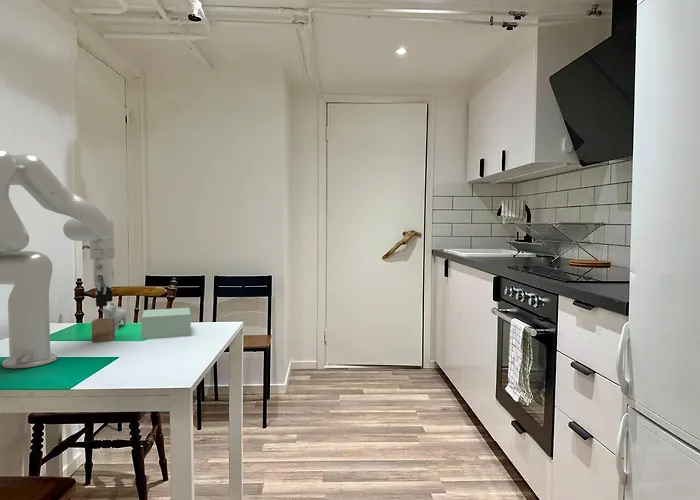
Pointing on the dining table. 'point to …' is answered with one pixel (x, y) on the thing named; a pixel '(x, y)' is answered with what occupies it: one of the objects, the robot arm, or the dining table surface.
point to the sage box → (166, 323)
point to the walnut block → (103, 330)
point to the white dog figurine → (114, 313)
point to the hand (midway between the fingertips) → (104, 303)
